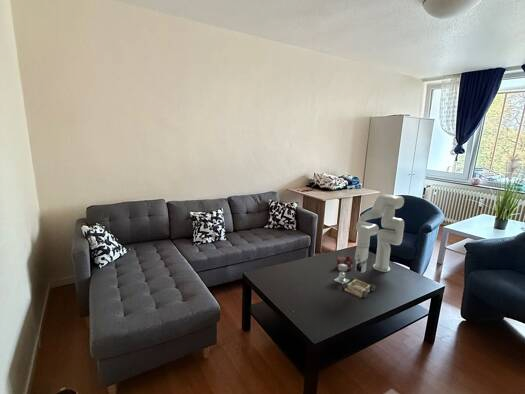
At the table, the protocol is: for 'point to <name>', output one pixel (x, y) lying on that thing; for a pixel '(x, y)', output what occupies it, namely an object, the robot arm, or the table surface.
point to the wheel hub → (342, 267)
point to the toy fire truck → (345, 261)
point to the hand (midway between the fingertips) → (360, 269)
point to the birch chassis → (358, 287)
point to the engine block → (362, 267)
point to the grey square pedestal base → (341, 278)
